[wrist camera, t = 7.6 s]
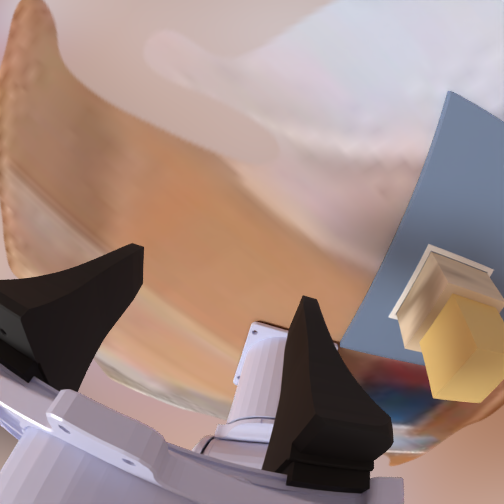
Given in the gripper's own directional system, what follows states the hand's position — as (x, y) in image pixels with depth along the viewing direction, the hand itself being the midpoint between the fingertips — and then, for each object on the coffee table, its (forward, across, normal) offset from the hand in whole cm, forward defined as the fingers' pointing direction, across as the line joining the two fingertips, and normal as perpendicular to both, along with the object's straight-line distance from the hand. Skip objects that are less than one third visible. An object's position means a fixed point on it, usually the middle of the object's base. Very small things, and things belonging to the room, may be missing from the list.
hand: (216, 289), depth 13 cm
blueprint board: (+10, -18, -1) cm, 21 cm away
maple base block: (+9, -16, +2) cm, 19 cm away
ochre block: (+5, -16, +2) cm, 17 cm away
